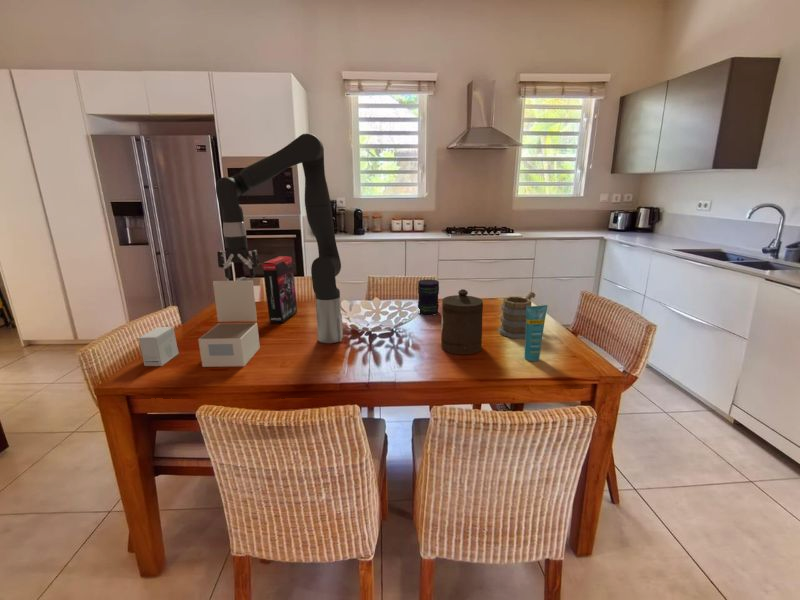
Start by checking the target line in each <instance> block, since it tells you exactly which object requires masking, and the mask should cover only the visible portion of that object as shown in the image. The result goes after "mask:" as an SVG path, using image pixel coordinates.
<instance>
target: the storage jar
mask: <svg viewBox="0 0 800 600" xmlns="http://www.w3.org/2000/svg"><path fill="white" fill-rule="evenodd" d="M417 283H418V284H417V285H418V286H417V293H418V301H417V309H418V308H419V309H420V314H419V315H421V314H422V316H426V315H432V316H434V315H433V314H436V315H438V314H439V307H440V306H439V293H440V292H439V291H440V282H439V280H437V279H421V280H418V282H417ZM437 313H438V314H437Z"/></svg>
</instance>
